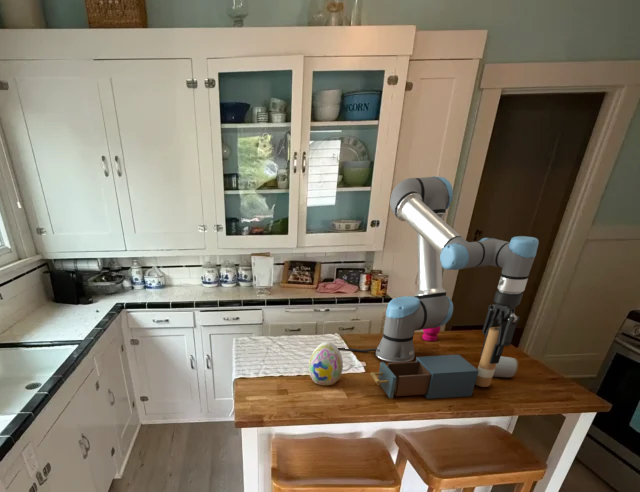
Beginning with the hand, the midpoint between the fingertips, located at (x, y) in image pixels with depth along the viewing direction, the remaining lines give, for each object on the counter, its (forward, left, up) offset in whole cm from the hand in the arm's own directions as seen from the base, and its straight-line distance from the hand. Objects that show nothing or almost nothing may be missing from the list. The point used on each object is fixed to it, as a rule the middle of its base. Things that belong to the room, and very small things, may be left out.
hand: (489, 359), depth 146 cm
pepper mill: (-36, +28, -10) cm, 47 cm away
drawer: (-19, -25, -9) cm, 32 cm away
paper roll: (0, 0, -9) cm, 9 cm away
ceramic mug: (0, +13, -10) cm, 17 cm away
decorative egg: (-42, -37, -10) cm, 56 cm away
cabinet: (-9, -12, -10) cm, 18 cm away
